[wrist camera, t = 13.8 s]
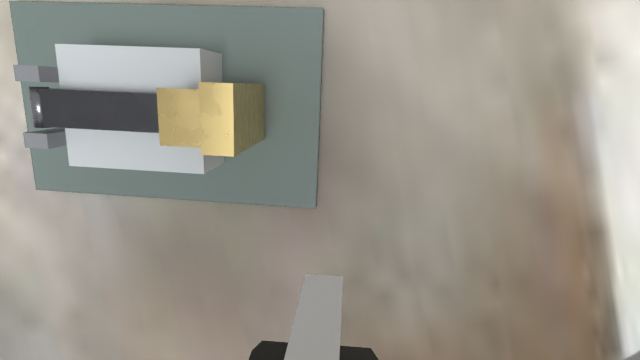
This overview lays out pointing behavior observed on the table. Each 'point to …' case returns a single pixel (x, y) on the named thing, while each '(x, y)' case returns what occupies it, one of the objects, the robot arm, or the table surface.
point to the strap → (94, 109)
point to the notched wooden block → (212, 117)
